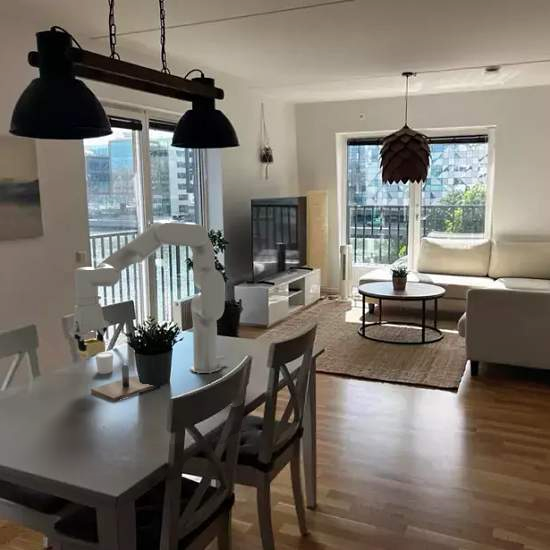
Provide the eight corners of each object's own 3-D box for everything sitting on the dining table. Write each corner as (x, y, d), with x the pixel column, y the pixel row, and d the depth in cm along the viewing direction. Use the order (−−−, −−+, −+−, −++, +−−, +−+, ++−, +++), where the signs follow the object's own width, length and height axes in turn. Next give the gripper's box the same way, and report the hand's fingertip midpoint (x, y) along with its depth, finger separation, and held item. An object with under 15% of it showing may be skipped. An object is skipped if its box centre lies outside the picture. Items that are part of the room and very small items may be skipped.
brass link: (94, 348, 215) (94, 337, 214) (105, 351, 210) (104, 340, 209) (78, 352, 209) (77, 342, 209) (88, 356, 205) (87, 345, 204)
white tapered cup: (116, 369, 231) (115, 352, 230) (110, 374, 225) (109, 357, 224) (100, 368, 232) (99, 352, 231) (93, 374, 225) (92, 357, 224)
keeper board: (137, 378, 220) (136, 374, 220) (159, 386, 211) (159, 382, 211) (91, 392, 205) (91, 388, 204) (113, 402, 196) (113, 398, 196)
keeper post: (126, 384, 209) (125, 362, 208) (130, 385, 208) (129, 364, 206) (121, 385, 207) (120, 364, 206) (125, 387, 206) (124, 365, 205)
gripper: (102, 295, 215) (106, 341, 218) (60, 304, 202) (64, 352, 205) (114, 298, 211) (117, 344, 214) (71, 306, 198) (75, 355, 201)
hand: (91, 347), depth 209 cm, fingers closed on brass link, 7 cm apart
